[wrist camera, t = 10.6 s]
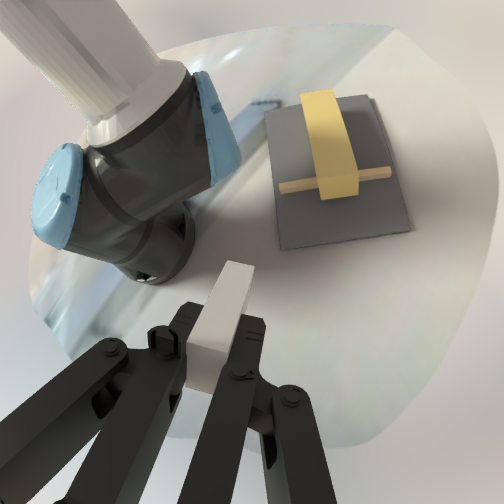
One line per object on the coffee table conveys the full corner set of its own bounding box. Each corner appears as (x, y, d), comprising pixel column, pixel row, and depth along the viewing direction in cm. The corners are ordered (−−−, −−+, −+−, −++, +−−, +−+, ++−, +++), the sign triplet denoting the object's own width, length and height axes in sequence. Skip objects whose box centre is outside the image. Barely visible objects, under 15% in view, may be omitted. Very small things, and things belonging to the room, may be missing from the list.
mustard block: (358, 173, 31) (332, 89, 37) (316, 179, 33) (299, 94, 38) (358, 194, 36) (335, 111, 41) (321, 200, 37) (305, 116, 43)
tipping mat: (409, 231, 35) (412, 226, 33) (281, 250, 40) (278, 246, 38) (367, 97, 41) (367, 88, 39) (265, 114, 46) (261, 106, 44)
